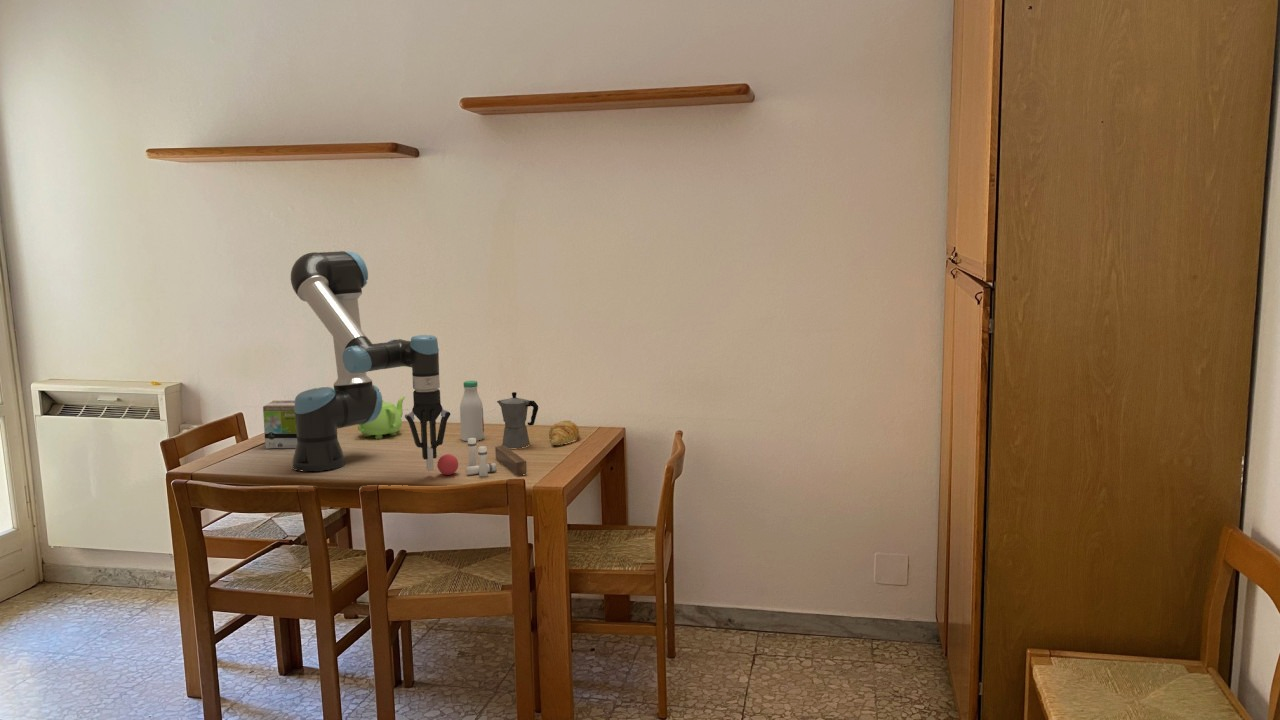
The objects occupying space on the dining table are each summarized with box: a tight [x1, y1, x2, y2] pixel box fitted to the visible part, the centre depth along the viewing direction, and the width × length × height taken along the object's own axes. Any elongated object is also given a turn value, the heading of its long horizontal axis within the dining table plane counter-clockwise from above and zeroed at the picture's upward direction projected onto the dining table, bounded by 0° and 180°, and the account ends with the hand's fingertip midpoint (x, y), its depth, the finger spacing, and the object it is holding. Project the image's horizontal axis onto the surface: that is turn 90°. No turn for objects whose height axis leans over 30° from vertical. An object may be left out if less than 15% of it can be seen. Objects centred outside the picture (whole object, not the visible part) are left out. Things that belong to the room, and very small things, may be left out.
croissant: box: [548, 420, 580, 446], centre depth 313 cm, size 21×10×8 cm, turn 167°
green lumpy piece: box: [357, 396, 406, 440], centre depth 325 cm, size 16×14×13 cm
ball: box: [437, 453, 459, 476], centre depth 272 cm, size 6×6×6 cm
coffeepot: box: [496, 391, 539, 449], centre depth 304 cm, size 15×9×18 cm, turn 66°
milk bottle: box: [459, 380, 485, 442], centre depth 315 cm, size 8×8×20 cm
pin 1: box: [467, 438, 478, 467], centre depth 281 cm, size 3×3×8 cm
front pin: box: [465, 462, 498, 476], centre depth 273 cm, size 3×3×8 cm
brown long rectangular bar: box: [495, 445, 528, 476], centre depth 280 cm, size 3×22×4 cm, turn 25°
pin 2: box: [477, 445, 489, 478], centre depth 270 cm, size 3×3×8 cm
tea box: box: [262, 400, 297, 450], centre depth 310 cm, size 15×10×15 cm
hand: (430, 469), depth 270 cm, fingers closed
